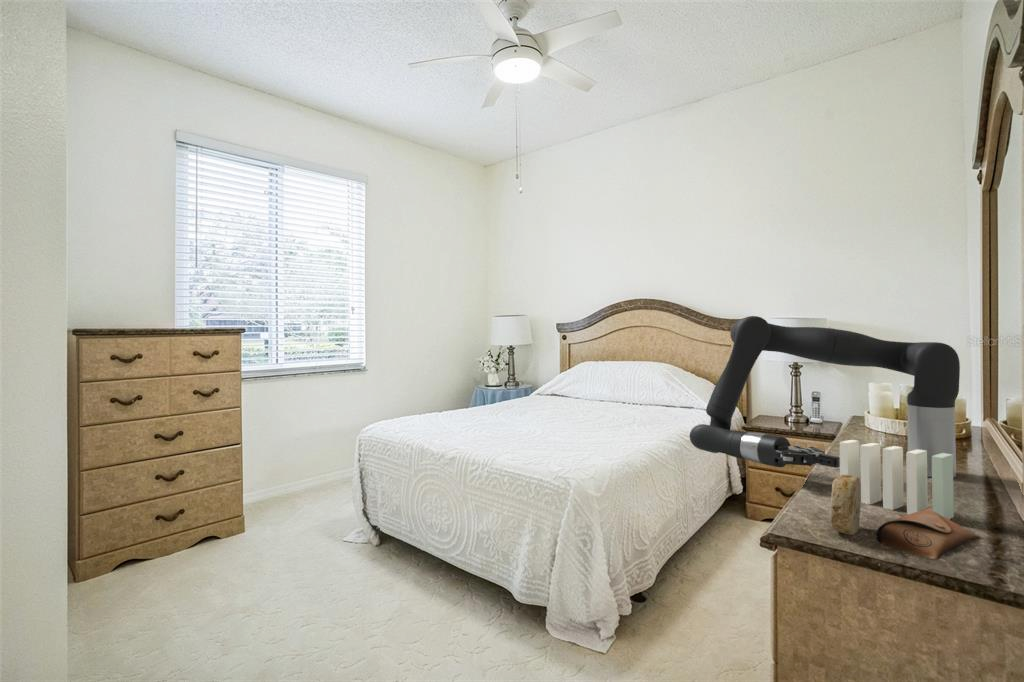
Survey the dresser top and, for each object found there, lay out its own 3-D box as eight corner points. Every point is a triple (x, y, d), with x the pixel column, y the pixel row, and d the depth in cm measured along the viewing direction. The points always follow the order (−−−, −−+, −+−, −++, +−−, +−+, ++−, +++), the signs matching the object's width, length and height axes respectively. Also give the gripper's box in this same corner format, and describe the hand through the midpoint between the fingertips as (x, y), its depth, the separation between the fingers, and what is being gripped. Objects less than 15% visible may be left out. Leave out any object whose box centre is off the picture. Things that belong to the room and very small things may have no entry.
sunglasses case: (939, 560, 76) (911, 516, 79) (893, 568, 81) (868, 527, 84) (982, 536, 85) (956, 497, 88) (938, 545, 90) (915, 508, 93)
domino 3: (883, 508, 100) (882, 448, 100) (894, 503, 102) (893, 445, 103) (892, 510, 98) (891, 450, 99) (903, 505, 101) (902, 447, 101)
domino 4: (907, 513, 96) (906, 452, 96) (917, 509, 99) (917, 449, 99) (917, 516, 95) (916, 453, 95) (927, 511, 98) (926, 450, 98)
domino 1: (840, 497, 107) (839, 442, 107) (851, 493, 109) (850, 439, 109) (848, 499, 105) (847, 443, 105) (859, 495, 108) (859, 440, 108)
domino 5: (932, 519, 93) (931, 456, 93) (943, 514, 96) (942, 452, 96) (943, 522, 92) (942, 457, 92) (953, 517, 94) (952, 454, 94)
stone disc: (840, 521, 93) (839, 468, 93) (864, 526, 90) (863, 471, 90) (826, 537, 85) (825, 479, 85) (852, 543, 83) (851, 483, 83)
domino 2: (861, 502, 103) (860, 445, 103) (872, 498, 106) (871, 442, 106) (869, 504, 102) (869, 446, 102) (880, 500, 104) (880, 443, 105)
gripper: (748, 436, 121) (823, 449, 106) (779, 431, 127) (854, 442, 113) (748, 467, 120) (824, 484, 106) (780, 460, 127) (854, 475, 112)
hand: (839, 462), depth 109 cm, fingers closed
